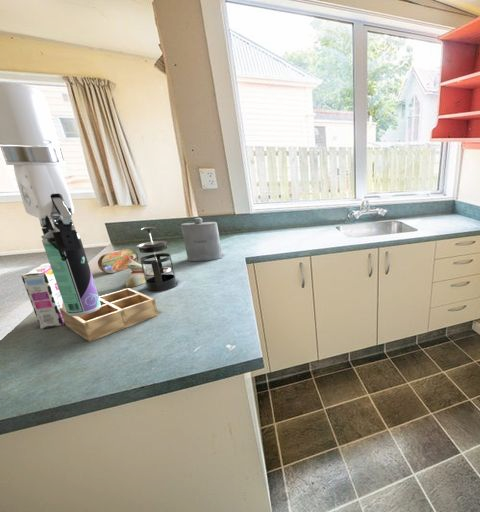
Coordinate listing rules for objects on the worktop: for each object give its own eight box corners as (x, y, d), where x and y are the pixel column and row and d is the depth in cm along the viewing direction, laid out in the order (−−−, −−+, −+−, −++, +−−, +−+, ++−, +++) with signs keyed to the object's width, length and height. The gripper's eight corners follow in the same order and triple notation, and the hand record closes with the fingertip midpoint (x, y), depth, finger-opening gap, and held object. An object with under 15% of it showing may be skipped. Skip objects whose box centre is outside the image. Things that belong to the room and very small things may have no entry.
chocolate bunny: (152, 281, 116) (146, 257, 113) (127, 288, 110) (120, 263, 107) (146, 278, 119) (140, 255, 116) (122, 285, 113) (115, 260, 110)
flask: (186, 262, 139) (177, 220, 133) (189, 258, 144) (181, 217, 138) (221, 259, 143) (214, 218, 137) (223, 255, 149) (217, 216, 142)
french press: (148, 284, 114) (133, 226, 107) (177, 279, 119) (165, 223, 112) (145, 295, 105) (128, 232, 98) (177, 289, 110) (163, 229, 102)
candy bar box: (64, 325, 86) (44, 272, 81) (40, 329, 83) (18, 275, 78) (80, 309, 95) (63, 261, 90) (58, 312, 93) (40, 263, 88)
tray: (89, 341, 78) (83, 323, 76) (65, 325, 86) (59, 308, 84) (158, 315, 92) (154, 298, 90) (133, 303, 99) (128, 287, 98)
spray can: (102, 310, 67) (76, 223, 61) (68, 318, 63) (36, 226, 57) (99, 302, 70) (74, 219, 64) (66, 310, 66) (36, 222, 60)
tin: (105, 276, 122) (99, 256, 119) (99, 275, 122) (93, 256, 120) (140, 264, 136) (136, 246, 133) (135, 263, 136) (130, 246, 134)
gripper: (-9, 155, 57) (24, 245, 63) (18, 157, 49) (53, 259, 55) (47, 156, 63) (73, 238, 69) (79, 158, 56) (105, 249, 61)
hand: (64, 246), depth 62 cm, fingers closed on spray can, 5 cm apart
